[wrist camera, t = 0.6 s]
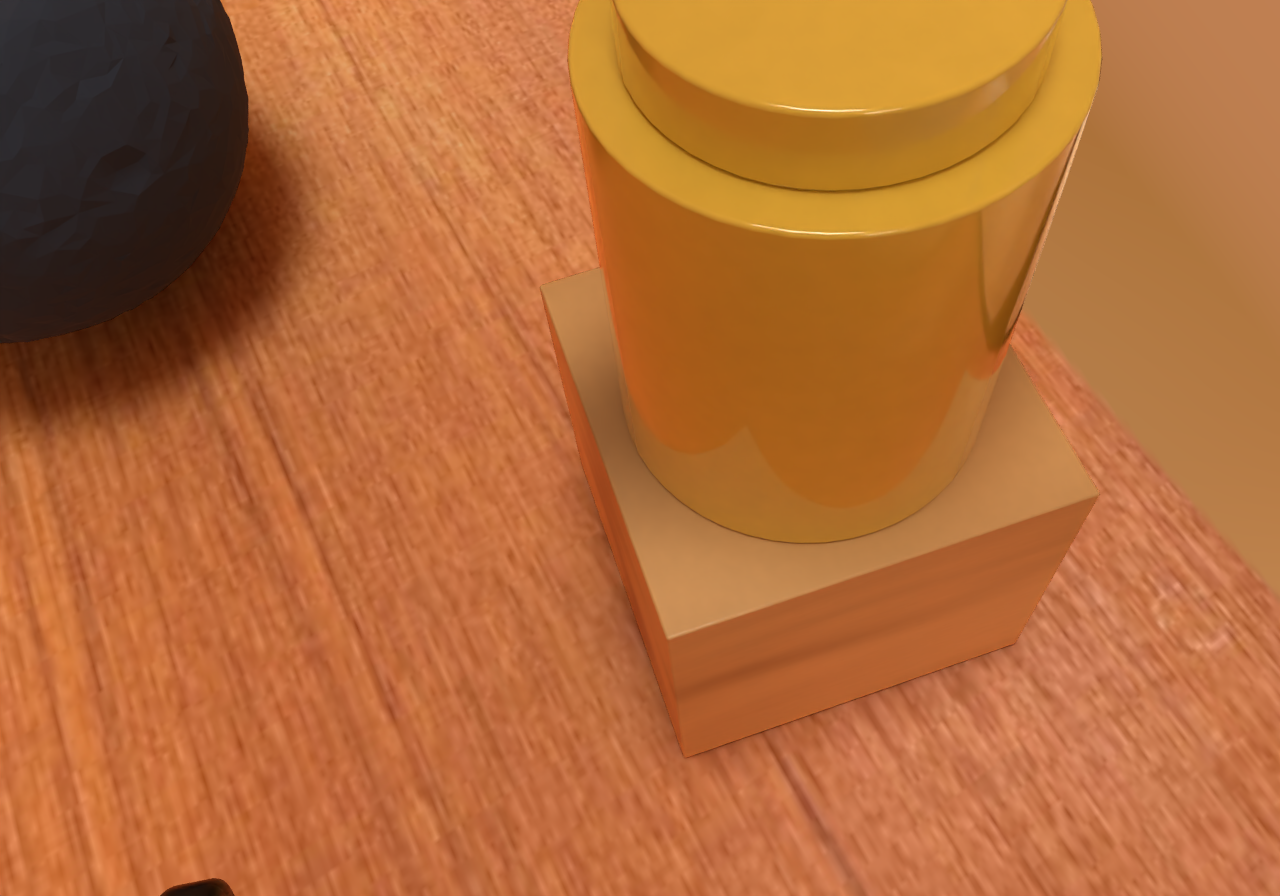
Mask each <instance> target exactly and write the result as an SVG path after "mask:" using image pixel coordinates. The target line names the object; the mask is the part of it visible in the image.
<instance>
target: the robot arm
mask: <svg viewBox="0 0 1280 896" xmlns="http://www.w3.org/2000/svg"><path fill="white" fill-rule="evenodd" d="M160 896H234V894H233V892H232V890H231V888H230V887H229V885H228V884H227V883H226V882H225V881H223V880H221V879H215V878H212V879H207V880H202V881H197V882H192V883H187V884H182V885H177V886H173V887H171V888H169V889H167V890H166V891H165V892H164V893H162V894H161V895H160Z"/></svg>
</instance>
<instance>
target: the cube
mask: <svg viewBox="0 0 1280 896" xmlns="http://www.w3.org/2000/svg"><path fill="white" fill-rule="evenodd" d="M540 290H541V295H542V299H543V303H544V307H545V312H546V316H547V320H548V324H549V329H550V333H551V337H552V341H553V345H554V350H555V354H556V358H557V362H558V367H559V371H560V375H561V379H562V384H563V388H564V392H565V396H566V401H567V405H568V409H569V413H570V417H571V422H572V426H573V430H574V434H575V439H576V443H577V447H578V451H579V456H580V460H581V464H582V467H583V470H584V472H585V475H586V478H587V481H588V484H589V487H590V490H591V493H592V495H593V498H594V501H595V504H596V507H597V510H598V513H599V516H600V518H601V521H602V524H603V527H604V530H605V533H606V536H607V539H608V541H609V544H610V547H611V550H612V553H613V556H614V559H615V561H616V564H617V567H618V570H619V573H620V576H621V579H622V582H623V584H624V587H625V590H626V593H627V596H628V599H629V602H630V605H631V607H632V610H633V613H634V616H635V619H636V622H637V625H638V627H639V630H640V633H641V636H642V639H643V642H644V645H645V648H646V650H647V653H648V656H649V659H650V662H651V665H652V668H653V671H654V673H655V676H656V679H657V682H658V685H659V688H660V691H661V694H662V696H663V699H664V702H665V705H666V708H667V711H668V714H669V716H670V719H671V722H672V725H673V728H674V731H675V734H676V737H677V739H678V742H679V745H680V748H681V751H682V754H683V756H684V757H685V758H687V757H690V756H693V755H696V754H698V753H701V752H704V751H707V750H710V749H713V748H716V747H719V746H721V745H724V744H727V743H730V742H733V741H736V740H739V739H742V738H744V737H747V736H750V735H753V734H756V733H759V732H762V731H765V730H767V729H770V728H773V727H776V726H779V725H782V724H785V723H788V722H790V721H793V720H796V719H799V718H802V717H805V716H808V715H811V714H814V713H816V712H819V711H822V710H825V709H828V708H831V707H834V706H837V705H839V704H842V703H845V702H848V701H851V700H854V699H857V698H860V697H862V696H865V695H868V694H871V693H874V692H877V691H880V690H883V689H885V688H888V687H891V686H894V685H897V684H900V683H903V682H906V681H908V680H911V679H914V678H917V677H920V676H923V675H926V674H929V673H931V672H934V671H937V670H940V669H943V668H946V667H949V666H952V665H954V664H957V663H960V662H963V661H966V660H969V659H972V658H975V657H977V656H980V655H983V654H986V653H989V652H992V651H995V650H998V649H1000V648H1003V647H1006V646H1009V645H1012V644H1015V643H1016V641H1017V639H1018V638H1019V636H1020V634H1021V632H1022V631H1023V629H1024V627H1025V625H1026V623H1027V622H1028V620H1029V618H1030V616H1031V615H1032V613H1033V611H1034V609H1035V608H1036V606H1037V604H1038V602H1039V601H1040V599H1041V597H1042V595H1043V594H1044V592H1045V590H1046V588H1047V587H1048V585H1049V583H1050V581H1051V579H1052V578H1053V576H1054V574H1055V572H1056V571H1057V569H1058V567H1059V565H1060V564H1061V562H1062V560H1063V558H1064V557H1065V555H1066V553H1067V551H1068V550H1069V548H1070V546H1071V544H1072V543H1073V541H1074V539H1075V537H1076V535H1077V534H1078V532H1079V530H1080V528H1081V527H1082V525H1083V523H1084V521H1085V520H1086V518H1087V516H1088V514H1089V513H1090V511H1091V509H1092V507H1093V506H1094V504H1095V502H1096V500H1097V498H1098V497H1099V495H1100V493H1099V491H1098V489H1097V487H1096V486H1095V484H1094V482H1093V481H1092V479H1091V477H1090V476H1089V474H1088V472H1087V471H1086V469H1085V467H1084V466H1083V464H1082V462H1081V461H1080V459H1079V457H1078V456H1077V454H1076V452H1075V451H1074V449H1073V447H1072V446H1071V444H1070V443H1069V441H1068V439H1067V438H1066V436H1065V434H1064V433H1063V431H1062V429H1061V428H1060V426H1059V424H1058V423H1057V421H1056V419H1055V418H1054V416H1053V414H1052V413H1051V411H1050V409H1049V408H1048V406H1047V404H1046V403H1045V401H1044V399H1043V398H1042V396H1041V394H1040V393H1039V391H1038V389H1037V388H1036V386H1035V384H1034V383H1033V381H1032V379H1031V378H1030V376H1029V374H1028V373H1027V371H1026V369H1025V368H1024V366H1023V364H1022V363H1021V361H1020V359H1019V358H1018V356H1017V354H1016V353H1015V351H1014V349H1013V348H1012V346H1011V344H1010V345H1009V347H1008V350H1007V353H1006V356H1005V359H1004V362H1003V365H1002V368H1001V371H1000V374H999V377H998V379H997V382H996V385H995V388H994V391H993V394H992V397H991V400H990V403H989V406H988V408H987V411H986V414H985V417H984V420H983V423H982V426H981V429H980V432H979V435H978V437H977V440H976V443H975V445H974V447H973V449H972V451H971V453H970V455H969V457H968V459H967V461H966V463H965V464H964V466H963V467H962V468H961V470H960V471H959V472H958V474H957V475H956V477H955V478H954V479H953V481H952V482H951V483H950V484H949V485H948V486H947V487H946V488H945V489H944V490H943V491H942V492H941V493H940V494H939V495H938V496H937V497H936V498H934V499H933V500H932V501H931V502H929V503H928V504H927V505H925V506H924V507H923V508H921V509H920V510H919V511H917V512H915V513H914V514H912V515H910V516H908V517H907V518H905V519H903V520H901V521H900V522H898V523H896V524H893V525H891V526H888V527H886V528H883V529H881V530H878V531H876V532H873V533H870V534H866V535H862V536H858V537H855V538H851V539H846V540H839V541H831V542H824V543H792V542H782V541H772V540H768V539H763V538H759V537H754V536H750V535H746V534H743V533H740V532H738V531H735V530H732V529H729V528H726V527H724V526H722V525H720V524H718V523H716V522H714V521H711V520H709V519H707V518H705V517H703V516H702V515H700V514H699V513H697V512H696V511H694V510H692V509H691V508H689V507H688V506H686V505H685V504H683V503H682V502H681V501H680V500H678V499H677V498H676V497H675V496H674V495H673V494H672V493H670V492H669V491H668V490H667V489H666V488H665V487H664V486H663V485H662V484H661V483H660V482H659V481H658V479H657V478H656V477H655V476H654V475H653V474H652V473H651V472H650V470H649V469H648V467H647V466H646V464H645V463H644V461H643V460H642V458H641V457H640V455H639V453H638V452H637V449H636V447H635V445H634V443H633V441H632V439H631V437H630V434H629V431H628V428H627V425H626V421H625V418H624V414H623V408H622V402H621V396H620V389H619V383H618V377H617V371H616V365H615V358H614V352H613V346H612V340H611V333H610V327H609V321H608V315H607V309H606V302H605V296H604V290H603V284H602V278H601V271H600V267H599V268H595V269H592V270H589V271H585V272H582V273H579V274H575V275H572V276H569V277H566V278H562V279H559V280H556V281H552V282H549V283H546V284H543V285H541V286H540Z"/></svg>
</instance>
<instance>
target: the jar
mask: <svg viewBox="0 0 1280 896" xmlns="http://www.w3.org/2000/svg"><path fill="white" fill-rule="evenodd" d="M1100 35H1101V34H1100V30H1099V26H1098V22H1097V18H1096V14H1095V11H1094V7H1093V5H1092V2H1091V0H580V1H579V3H578V5H577V8H576V10H575V13H574V17H573V21H572V25H571V29H570V33H569V39H568V56H567V62H568V70H569V77H570V85H571V91H572V97H573V104H574V110H575V116H576V122H577V129H578V135H579V141H580V147H581V153H582V160H583V166H584V172H585V178H586V184H587V191H588V197H589V203H590V209H591V215H592V222H593V228H594V234H595V240H596V247H597V253H598V259H599V265H600V271H601V278H602V284H603V290H604V296H605V302H606V309H607V315H608V321H609V327H610V333H611V340H612V346H613V352H614V358H615V365H616V371H617V377H618V383H619V389H620V396H621V402H622V408H623V414H624V418H625V421H626V425H627V428H628V431H629V434H630V437H631V439H632V441H633V443H634V445H635V447H636V449H637V452H638V453H639V455H640V457H641V458H642V460H643V461H644V463H645V464H646V466H647V467H648V469H649V470H650V472H651V473H652V474H653V475H654V476H655V477H656V478H657V479H658V481H659V482H660V483H661V484H662V485H663V486H664V487H665V488H666V489H667V490H668V491H669V492H670V493H672V494H673V495H674V496H675V497H676V498H677V499H678V500H680V501H681V502H682V503H683V504H685V505H686V506H688V507H689V508H691V509H692V510H694V511H696V512H697V513H699V514H700V515H702V516H703V517H705V518H707V519H709V520H711V521H714V522H716V523H718V524H720V525H722V526H724V527H726V528H729V529H732V530H735V531H738V532H740V533H743V534H746V535H750V536H754V537H759V538H763V539H768V540H772V541H782V542H792V543H824V542H831V541H839V540H846V539H851V538H855V537H858V536H862V535H866V534H870V533H873V532H876V531H878V530H881V529H883V528H886V527H888V526H891V525H893V524H896V523H898V522H900V521H901V520H903V519H905V518H907V517H908V516H910V515H912V514H914V513H915V512H917V511H919V510H920V509H921V508H923V507H924V506H925V505H927V504H928V503H929V502H931V501H932V500H933V499H934V498H936V497H937V496H938V495H939V494H940V493H941V492H942V491H943V490H944V489H945V488H946V487H947V486H948V485H949V484H950V483H951V482H952V481H953V479H954V478H955V477H956V475H957V474H958V472H959V471H960V470H961V468H962V467H963V466H964V464H965V463H966V461H967V459H968V457H969V455H970V453H971V451H972V449H973V447H974V445H975V443H976V440H977V437H978V435H979V432H980V429H981V426H982V423H983V420H984V417H985V414H986V411H987V408H988V406H989V403H990V400H991V397H992V394H993V391H994V388H995V385H996V382H997V379H998V377H999V374H1000V371H1001V368H1002V365H1003V362H1004V359H1005V356H1006V353H1007V350H1008V347H1009V345H1010V342H1011V339H1012V336H1013V333H1014V330H1015V327H1016V324H1017V321H1018V318H1019V316H1020V313H1021V310H1022V307H1023V304H1024V301H1025V298H1026V295H1027V292H1028V289H1029V287H1030V283H1031V281H1032V278H1033V275H1034V272H1035V269H1036V266H1037V263H1038V260H1039V257H1040V255H1041V251H1042V249H1043V246H1044V243H1045V240H1046V237H1047V234H1048V231H1049V228H1050V225H1051V223H1052V220H1053V217H1054V214H1055V211H1056V208H1057V205H1058V202H1059V200H1060V197H1061V194H1062V191H1063V188H1064V185H1065V182H1066V179H1067V176H1068V173H1069V171H1070V168H1071V165H1072V162H1073V159H1074V156H1075V153H1076V150H1077V147H1078V144H1079V142H1080V139H1081V136H1082V133H1083V130H1084V127H1085V124H1086V121H1087V118H1088V115H1089V112H1090V110H1091V106H1092V104H1093V101H1094V98H1095V94H1096V92H1097V88H1098V85H1099V80H1100V72H1101V64H1102V49H1101V36H1100Z"/></svg>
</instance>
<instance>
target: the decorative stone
mask: <svg viewBox="0 0 1280 896" xmlns="http://www.w3.org/2000/svg"><path fill="white" fill-rule="evenodd" d="M248 132H249V128H248V95H247V91H246V86H245V82H244V72H243V66H242V60H241V56H240V53H239V49H238V45H237V41H236V38H235V35H234V32H233V28H232V25H231V22H230V19H229V17H228V15H227V14H226V12H225V10H224V8H223V6H222V3H221V1H220V0H0V343H14V342H31V341H35V340H40V339H44V338H48V337H54V336H59V335H63V334H67V333H70V332H74V331H77V330H81V329H84V328H88V327H91V326H93V325H96V324H99V323H102V322H105V321H108V320H110V319H112V318H114V317H116V316H118V315H120V314H122V313H123V312H125V311H129V310H132V309H134V308H136V307H137V306H139V305H140V304H141V303H143V302H144V301H146V300H149V299H151V298H153V297H154V296H155V295H157V294H158V293H159V292H161V291H162V290H163V289H164V288H166V287H167V286H168V285H169V284H171V283H172V282H173V281H174V280H176V279H177V278H178V277H179V276H180V275H181V274H182V273H183V272H184V271H186V270H187V269H188V268H189V267H190V266H191V265H192V263H193V262H194V261H195V260H196V258H197V257H198V256H199V255H200V254H201V252H202V251H203V250H204V249H205V247H206V246H207V245H208V244H209V242H210V241H211V240H212V238H213V237H214V236H215V234H216V232H217V231H218V230H219V228H220V226H221V224H222V222H223V220H224V218H225V215H226V213H227V211H228V209H229V207H230V205H231V203H232V201H233V198H234V196H235V194H236V191H237V187H238V184H239V181H240V178H241V175H242V172H243V168H244V161H245V154H246V148H247V143H248Z"/></svg>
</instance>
